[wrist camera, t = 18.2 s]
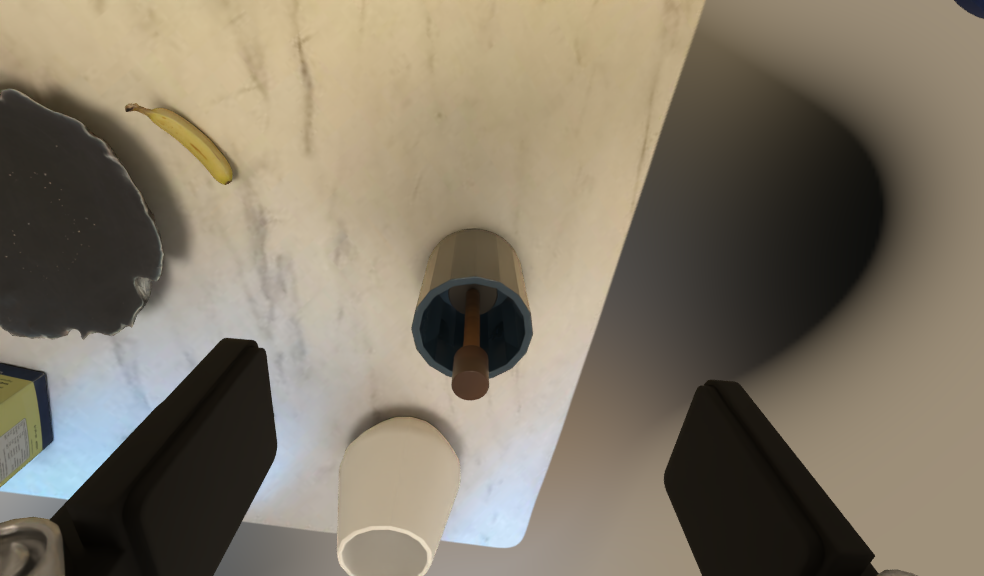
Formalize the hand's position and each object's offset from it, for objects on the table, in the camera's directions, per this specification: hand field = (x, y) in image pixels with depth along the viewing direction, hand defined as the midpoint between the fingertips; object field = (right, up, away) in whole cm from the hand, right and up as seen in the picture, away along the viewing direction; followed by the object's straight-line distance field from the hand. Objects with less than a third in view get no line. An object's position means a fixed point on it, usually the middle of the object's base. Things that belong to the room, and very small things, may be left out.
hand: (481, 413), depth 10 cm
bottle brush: (-2, +4, +35) cm, 35 cm away
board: (-38, +10, +32) cm, 51 cm away
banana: (-25, +15, +29) cm, 41 cm away
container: (-2, +4, +35) cm, 36 cm away
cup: (-10, -16, +45) cm, 49 cm away
